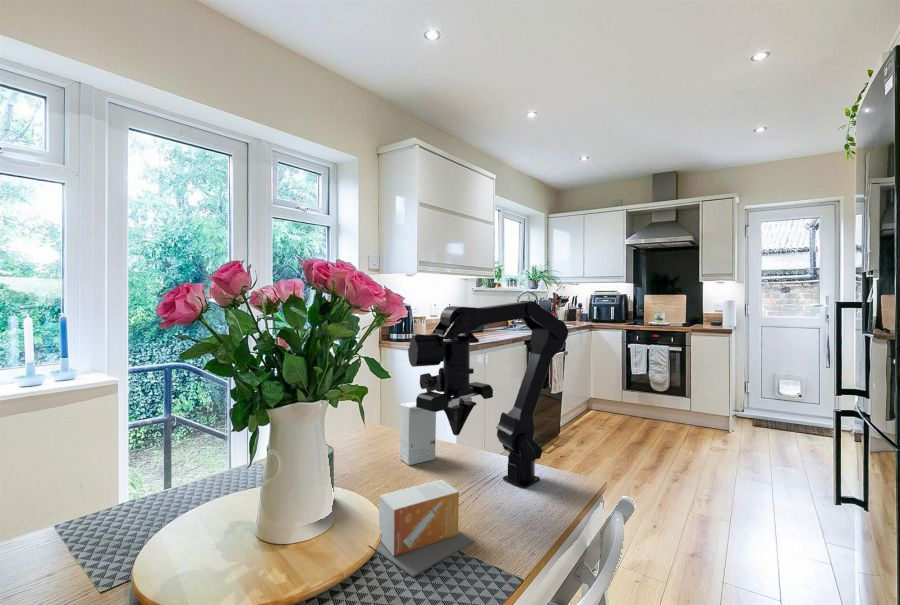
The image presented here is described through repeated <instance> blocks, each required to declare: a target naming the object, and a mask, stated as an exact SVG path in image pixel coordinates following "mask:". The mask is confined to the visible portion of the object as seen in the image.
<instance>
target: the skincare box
mask: <svg viewBox="0 0 900 605" xmlns="http://www.w3.org/2000/svg"><path fill="white" fill-rule="evenodd" d="M436 424H437V412H432V411H428V410H425V409H421V408H418V407H416V401H411V402H403V403H400V404H399V441H398V442H399V446H398V447H399V448H398V449H399V450H398V451H399V452H398V455H399V456H398V459H399V460H401V461H402V462H403V463H404V464H406V465H407V466H412V465H417V464H420V463H424V462H430V461H434V459H436V433H437V431H436V428H437V426H436Z"/></svg>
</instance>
